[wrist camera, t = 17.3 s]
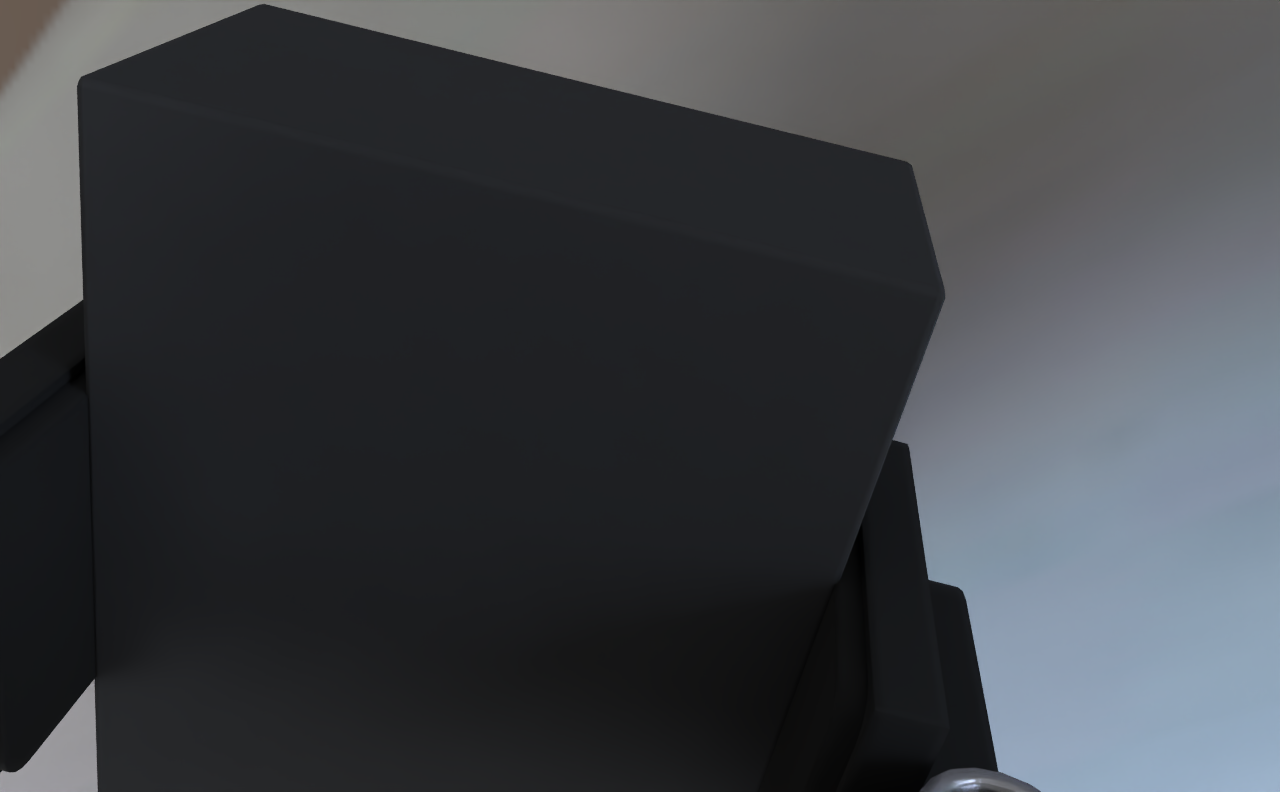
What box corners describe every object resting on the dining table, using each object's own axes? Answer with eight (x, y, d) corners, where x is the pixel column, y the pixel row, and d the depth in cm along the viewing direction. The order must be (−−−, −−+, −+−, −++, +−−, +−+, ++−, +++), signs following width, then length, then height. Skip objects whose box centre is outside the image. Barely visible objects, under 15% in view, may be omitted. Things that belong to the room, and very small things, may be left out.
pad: (259, 0, 10) (71, 74, 8) (914, 160, 10) (950, 292, 8) (221, 828, 16) (102, 1039, 13) (652, 939, 16) (621, 1174, 13)
